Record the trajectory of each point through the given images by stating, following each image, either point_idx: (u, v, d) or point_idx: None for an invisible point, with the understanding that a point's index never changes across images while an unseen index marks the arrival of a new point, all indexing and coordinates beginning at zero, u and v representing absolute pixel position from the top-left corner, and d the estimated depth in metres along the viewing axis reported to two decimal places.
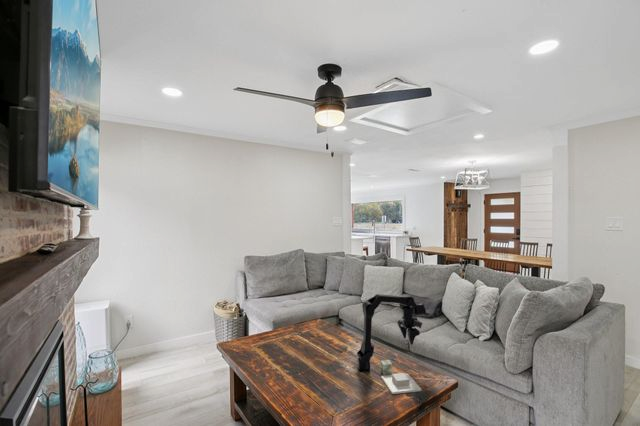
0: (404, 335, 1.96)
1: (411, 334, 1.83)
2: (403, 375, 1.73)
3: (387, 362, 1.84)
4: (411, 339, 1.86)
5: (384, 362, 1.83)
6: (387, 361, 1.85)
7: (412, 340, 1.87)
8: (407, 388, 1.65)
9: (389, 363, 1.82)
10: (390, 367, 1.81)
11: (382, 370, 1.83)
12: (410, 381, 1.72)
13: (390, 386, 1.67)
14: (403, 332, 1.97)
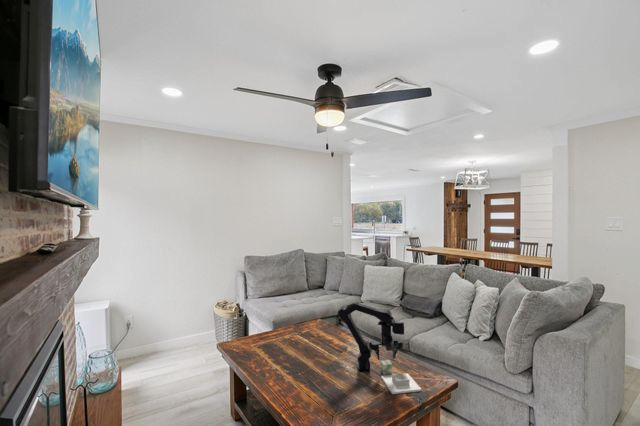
0: (393, 355, 1.85)
1: (369, 345, 1.84)
2: (403, 375, 1.73)
3: (387, 362, 1.84)
4: (376, 353, 1.83)
5: (384, 362, 1.83)
6: (387, 361, 1.85)
7: (377, 355, 1.83)
8: (407, 388, 1.65)
9: (389, 363, 1.82)
10: (390, 367, 1.81)
11: (382, 370, 1.83)
12: (410, 381, 1.72)
13: (390, 386, 1.67)
14: (393, 351, 1.85)
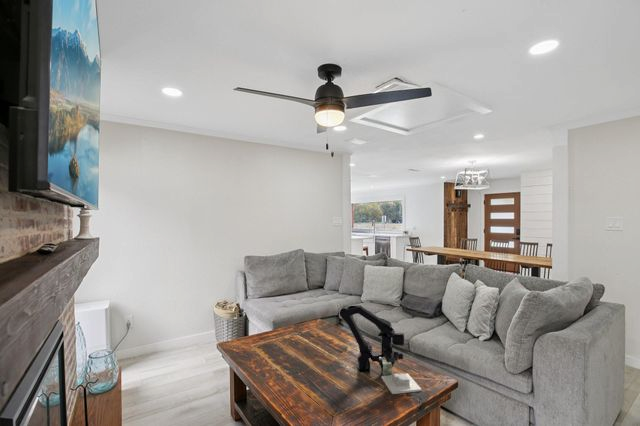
0: None
1: None
2: (403, 375, 1.73)
3: (387, 362, 1.84)
4: (379, 364, 1.84)
5: (384, 362, 1.83)
6: None
7: (380, 366, 1.83)
8: (407, 388, 1.65)
9: (389, 363, 1.82)
10: (390, 367, 1.81)
11: None
12: (410, 381, 1.72)
13: (390, 386, 1.67)
14: None
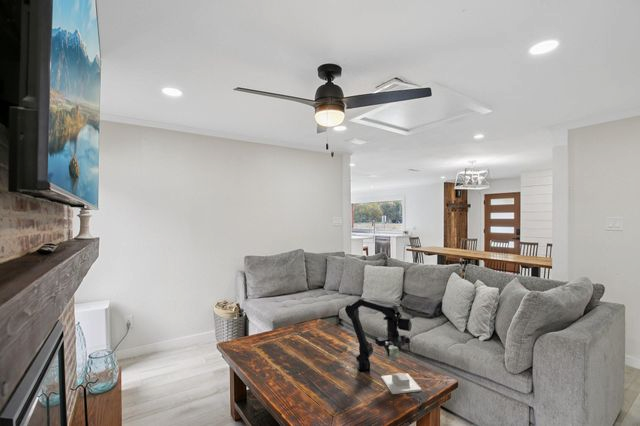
0: None
1: (375, 341, 1.79)
2: (403, 375, 1.73)
3: (393, 346, 1.78)
4: (386, 349, 1.78)
5: (390, 347, 1.78)
6: (394, 346, 1.80)
7: (386, 351, 1.77)
8: (407, 388, 1.65)
9: (395, 348, 1.77)
10: (397, 352, 1.76)
11: None
12: (410, 381, 1.72)
13: (390, 386, 1.67)
14: None
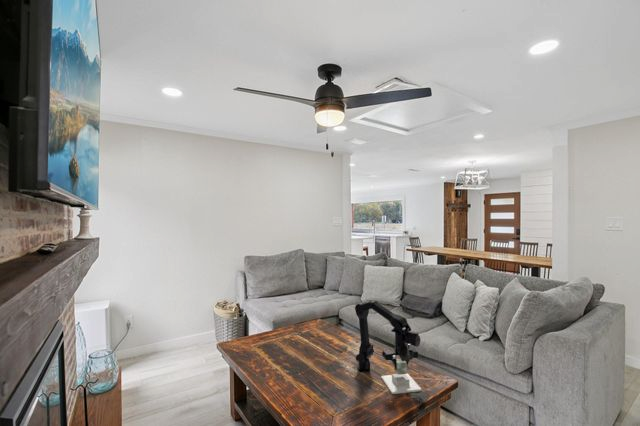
0: None
1: (382, 354, 1.72)
2: (403, 375, 1.73)
3: (401, 360, 1.71)
4: (393, 363, 1.71)
5: (398, 361, 1.71)
6: None
7: (394, 365, 1.71)
8: (407, 388, 1.65)
9: (403, 362, 1.70)
10: (404, 366, 1.69)
11: None
12: (410, 381, 1.72)
13: (390, 386, 1.67)
14: None
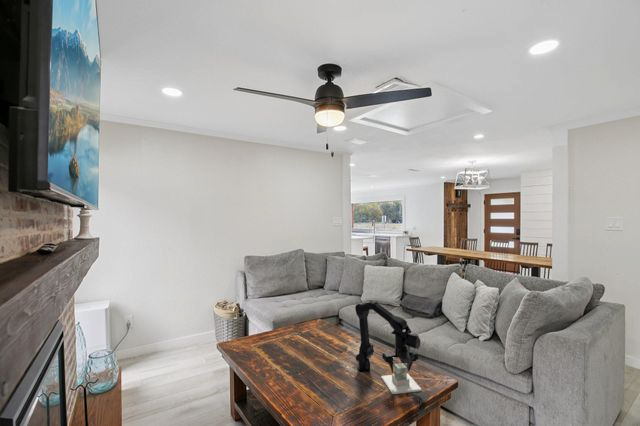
0: (407, 367, 1.72)
1: (382, 356, 1.72)
2: None
3: (401, 365, 1.71)
4: (390, 365, 1.71)
5: (398, 365, 1.71)
6: (401, 364, 1.73)
7: (390, 367, 1.70)
8: (407, 388, 1.65)
9: (403, 367, 1.70)
10: (404, 371, 1.69)
11: (396, 374, 1.71)
12: (410, 381, 1.72)
13: (390, 386, 1.67)
14: (407, 363, 1.73)
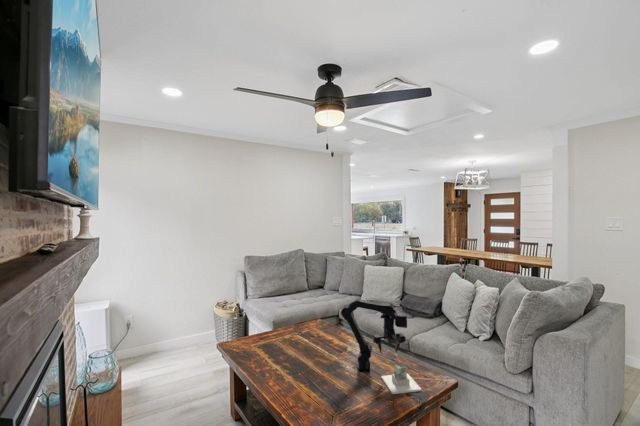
0: (395, 348, 1.84)
1: (372, 337, 1.84)
2: None
3: (401, 365, 1.71)
4: (378, 346, 1.83)
5: (398, 365, 1.71)
6: (401, 364, 1.73)
7: (379, 348, 1.83)
8: (407, 388, 1.65)
9: (403, 367, 1.70)
10: (404, 371, 1.69)
11: (396, 374, 1.71)
12: (410, 381, 1.72)
13: (390, 386, 1.67)
14: (395, 345, 1.85)
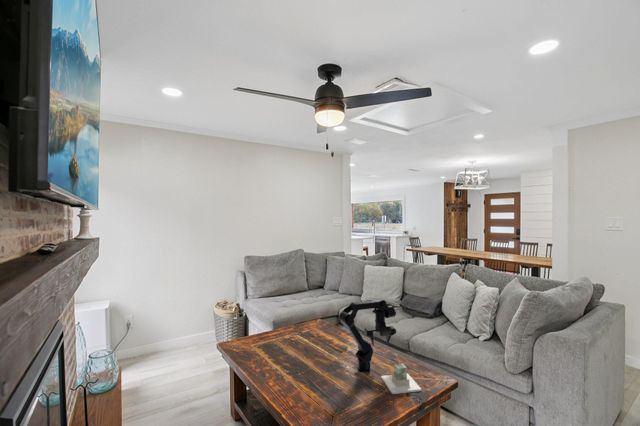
0: (386, 340, 1.94)
1: (364, 331, 1.94)
2: None
3: (401, 365, 1.71)
4: None
5: (398, 365, 1.71)
6: (401, 364, 1.73)
7: (371, 340, 1.92)
8: (407, 388, 1.65)
9: (403, 367, 1.70)
10: (404, 371, 1.69)
11: (396, 374, 1.71)
12: (410, 381, 1.72)
13: (390, 386, 1.67)
14: (387, 337, 1.95)
